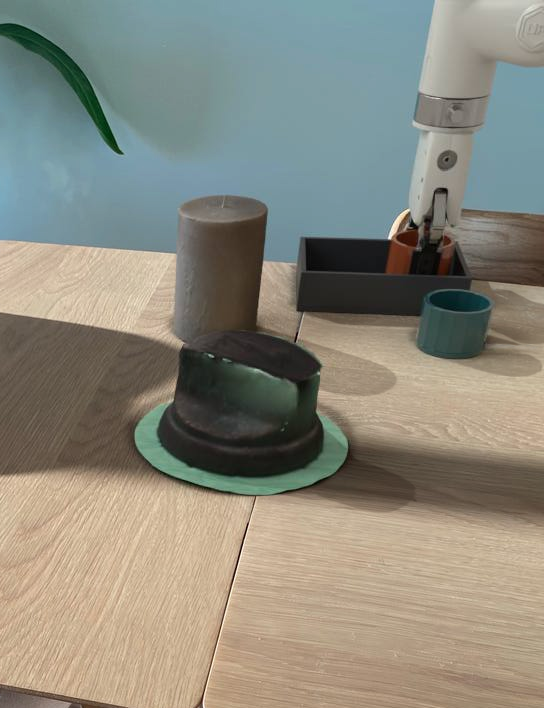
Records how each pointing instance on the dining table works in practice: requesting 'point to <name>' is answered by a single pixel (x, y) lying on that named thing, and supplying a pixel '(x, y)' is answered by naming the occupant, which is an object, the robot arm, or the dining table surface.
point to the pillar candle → (218, 264)
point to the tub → (365, 278)
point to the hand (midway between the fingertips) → (417, 272)
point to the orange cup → (406, 244)
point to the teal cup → (454, 323)
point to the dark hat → (244, 417)
